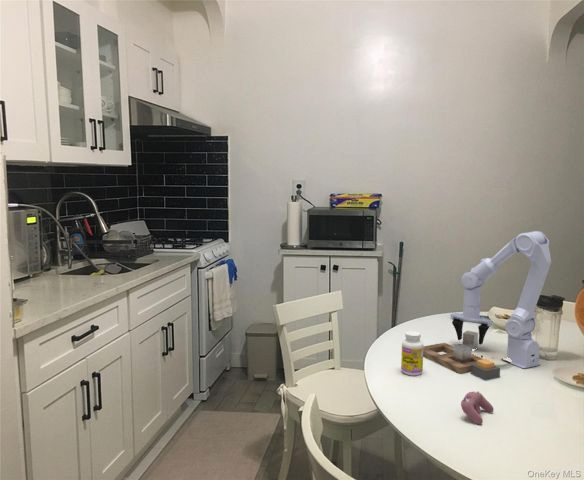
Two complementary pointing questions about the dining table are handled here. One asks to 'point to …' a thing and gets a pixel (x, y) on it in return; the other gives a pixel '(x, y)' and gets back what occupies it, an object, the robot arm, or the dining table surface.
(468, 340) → the steel billet
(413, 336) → the supplement bottle
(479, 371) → the button housing
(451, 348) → the brown board with cutouts
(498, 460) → the dining table surface
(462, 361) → the block
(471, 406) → the video game controller
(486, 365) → the button
